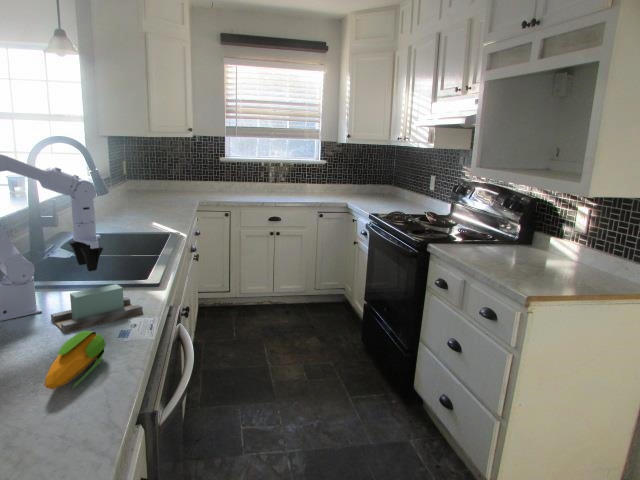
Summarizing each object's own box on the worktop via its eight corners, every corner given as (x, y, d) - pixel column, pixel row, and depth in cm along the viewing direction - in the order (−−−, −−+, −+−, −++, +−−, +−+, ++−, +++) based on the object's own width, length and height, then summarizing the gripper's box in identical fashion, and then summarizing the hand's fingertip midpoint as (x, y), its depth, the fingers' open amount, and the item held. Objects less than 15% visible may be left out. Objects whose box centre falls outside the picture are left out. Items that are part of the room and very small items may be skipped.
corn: (111, 321, 104) (67, 365, 84) (115, 352, 106) (73, 402, 86) (77, 322, 104) (25, 367, 84) (82, 354, 105) (32, 404, 86)
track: (64, 332, 114) (64, 326, 114) (51, 320, 121) (50, 314, 121) (142, 313, 128) (142, 306, 128) (127, 302, 135) (126, 297, 135)
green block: (77, 323, 119) (75, 297, 117) (72, 318, 122) (69, 293, 120) (124, 311, 127) (122, 287, 126) (117, 307, 130) (116, 284, 129)
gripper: (108, 224, 130) (111, 270, 133) (89, 216, 140) (92, 259, 143) (81, 227, 125) (85, 275, 128) (63, 218, 135) (67, 263, 138)
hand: (87, 267), depth 135 cm, fingers open, 7 cm apart
